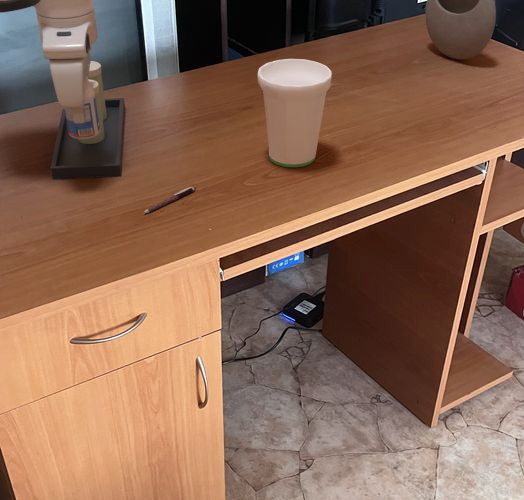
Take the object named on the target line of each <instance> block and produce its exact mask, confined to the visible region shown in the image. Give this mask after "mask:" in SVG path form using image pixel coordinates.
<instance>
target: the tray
mask: <svg viewBox="0 0 524 500" xmlns="http://www.w3.org/2000/svg"><path fill="white" fill-rule="evenodd" d="M125 104H126V103H125V97H116V98H105V106H106V113H107V118H106V119H105V120H103V127H104V134H105V138H104V140H102V141H101V142H98V143H94V144H84V143H81V142H79V141H78V140H77V139H75V138H73V137H71V136H70V135H69V133H68V128H67V122H66V116H65V111H64V109H61V115H60V119H59V123H58V124H59V125H58V129H57V135H56V139H55V144H54V148H53V154H52V159H51V163H50V166H49V169H50V175H51V180H70V179H90V178H91V179H93V178H112V177H122V169H123V168H122V167H123V150H124V134H125V115H126V105H125Z"/></svg>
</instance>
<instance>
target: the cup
mask: <svg viewBox="0 0 524 500" xmlns="http://www.w3.org/2000/svg"><path fill="white" fill-rule="evenodd" d="M332 76H333V71H332V70H331V69H330V68H329V67H328V66H327V65H325V64H323V63H320V62H318V61H314V60H309V59H306V58H305V59H303V58H285V59H284V58H283V59H276V60H273V61H269V62H266V63H264V64H263V65H261V66H260V67H259V68H258V71H257V84H258V86H259V87H260V88H261V90H262V94H263V103H264V112H265V113H264V114H265V123H266V134H267V143H268V158H269V160H270V161H271V162H272V163H273V164H275V165H277V166H279V167H284V168H303V167H306V166H308V165H310V164H312V163H313V162H314V161H316V155H317V149H318V144H319V138H320V131H321V126H322V121H323V115H324V108H325V102H326V97H327V92H328V91H329V90H330V88H331V85H332Z"/></svg>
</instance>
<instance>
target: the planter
mask: <svg viewBox="0 0 524 500" xmlns="http://www.w3.org/2000/svg"><path fill="white" fill-rule="evenodd" d="M496 18H497V9H496V1H495V0H426V3H425V25H426V29H427V32H428V35H429V38H430V40H431V42H432V43H433V45H434V47H435V48H436V49H437V50H438V51H439V52H440V53H441V54H443V55H445V56H446V57H448V58H450V59H452V60H453V59H454V60H460V61H461V60H463V61H464V60H469V59H472V58H474V57H476V56H477V55H479V54H480V53H482V52H483V50H484V49H486V47H487V46H488V45H489V43H490V42H491V39H492V36H493V33H494V30H495V25H496Z"/></svg>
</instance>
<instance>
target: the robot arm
mask: <svg viewBox="0 0 524 500" xmlns="http://www.w3.org/2000/svg"><path fill="white" fill-rule="evenodd" d="M94 5H95V4H94V2H93V0H0V14H1V13H2V14H3V13H10V12H15V11H20V10H24V9H28V8H32V7H34V8H35V13H36V20H37V25H38V30H39V37H40V42H41V47H42V48H41V49H42V54H43V58H44V59H45V60H48V65H49V69H50V70H49V71H50V74H51V79H52V83H53V88H54V90H55V95H56V99H57V102H58V104H59V106H60V108H61V110H63V109H70V110H71V112H72V116H73V121H74V123H84V121H85V115H84V109H83V107H84V102H85V95H86V89H87V77H88V76H89V70H90V63H91V61H92V60H91V53H90V52H91V51H92V46H93V44H95V43H96V42H97V40H98V38H99V36H98V35H99V34H98V28H97V21H96V20H97V19H96V13H95V6H94Z"/></svg>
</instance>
